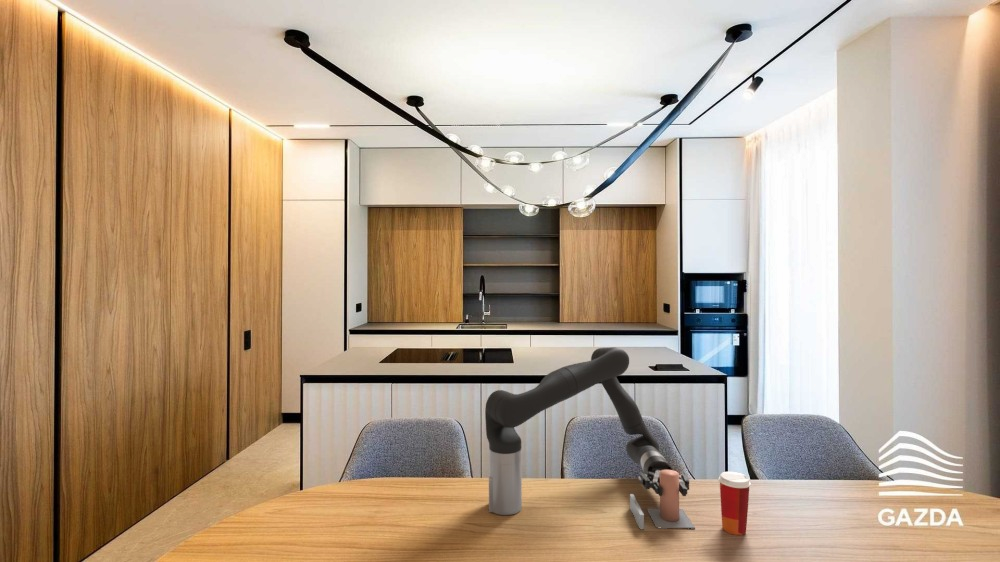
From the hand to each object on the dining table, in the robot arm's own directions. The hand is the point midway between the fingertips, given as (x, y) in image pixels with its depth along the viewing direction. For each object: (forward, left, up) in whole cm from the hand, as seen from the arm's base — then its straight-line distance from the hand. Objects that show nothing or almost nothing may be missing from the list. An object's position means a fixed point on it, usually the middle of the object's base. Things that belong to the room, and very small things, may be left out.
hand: (672, 492), depth 133 cm
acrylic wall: (-9, +2, -8) cm, 13 cm away
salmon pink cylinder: (0, +3, -8) cm, 8 cm away
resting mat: (0, +2, -8) cm, 9 cm away
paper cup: (+15, -3, -9) cm, 18 cm away
